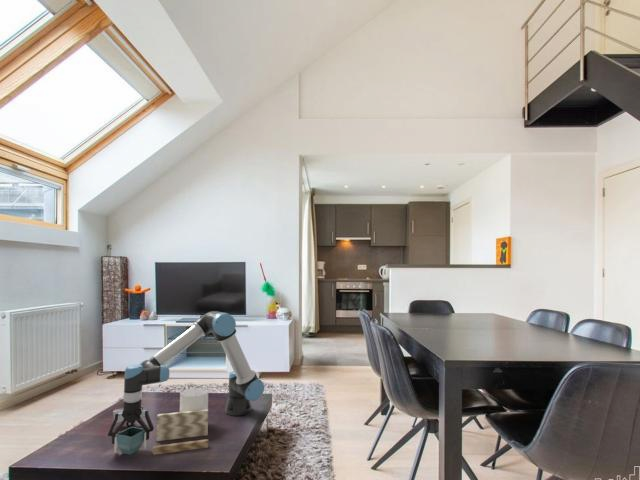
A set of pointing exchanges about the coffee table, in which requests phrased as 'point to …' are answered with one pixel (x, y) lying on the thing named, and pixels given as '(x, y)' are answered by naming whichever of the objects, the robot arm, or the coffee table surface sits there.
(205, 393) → the container
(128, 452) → the flower pot
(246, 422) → the coffee table surface
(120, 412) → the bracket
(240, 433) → the coffee table surface
